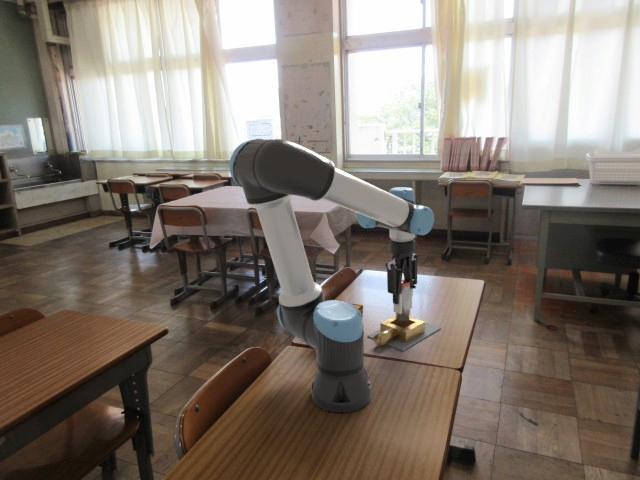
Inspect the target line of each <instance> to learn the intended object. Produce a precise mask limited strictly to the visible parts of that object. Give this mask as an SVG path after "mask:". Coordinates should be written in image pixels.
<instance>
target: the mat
mask: <svg viewBox="0 0 640 480" xmlns="http://www.w3.org/2000/svg"><path fill="white" fill-rule="evenodd" d="M402 328H403V327H402ZM441 329H442V328H441V327H439V326H437V325H433V324H432V323H427V322H425V332H424V333H423V334H421V335H419V336H417V337H416V338H414V339H412V340H411V341H409V342H407V343H404V342H401V341H399V340H396V339H393V340H391V341H390V342H388V343H386V344H385V345H387V346H389V347H391V348H393V349H396V350H399V351H401V352H405V351H406V350H408V349H409V348H411V347H414V345H417V344H418V343H420V342H422V341H423V340H424V339H426V338H428V337H430V336H431V335H433V334H435V333H436V332H439V331H440V330H441ZM379 333H380V329H378V330H376V331H374V332H372V333H370V334H368V335H367V338H369V339H372V340H374V336H375V335H377V334H379Z"/></svg>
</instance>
